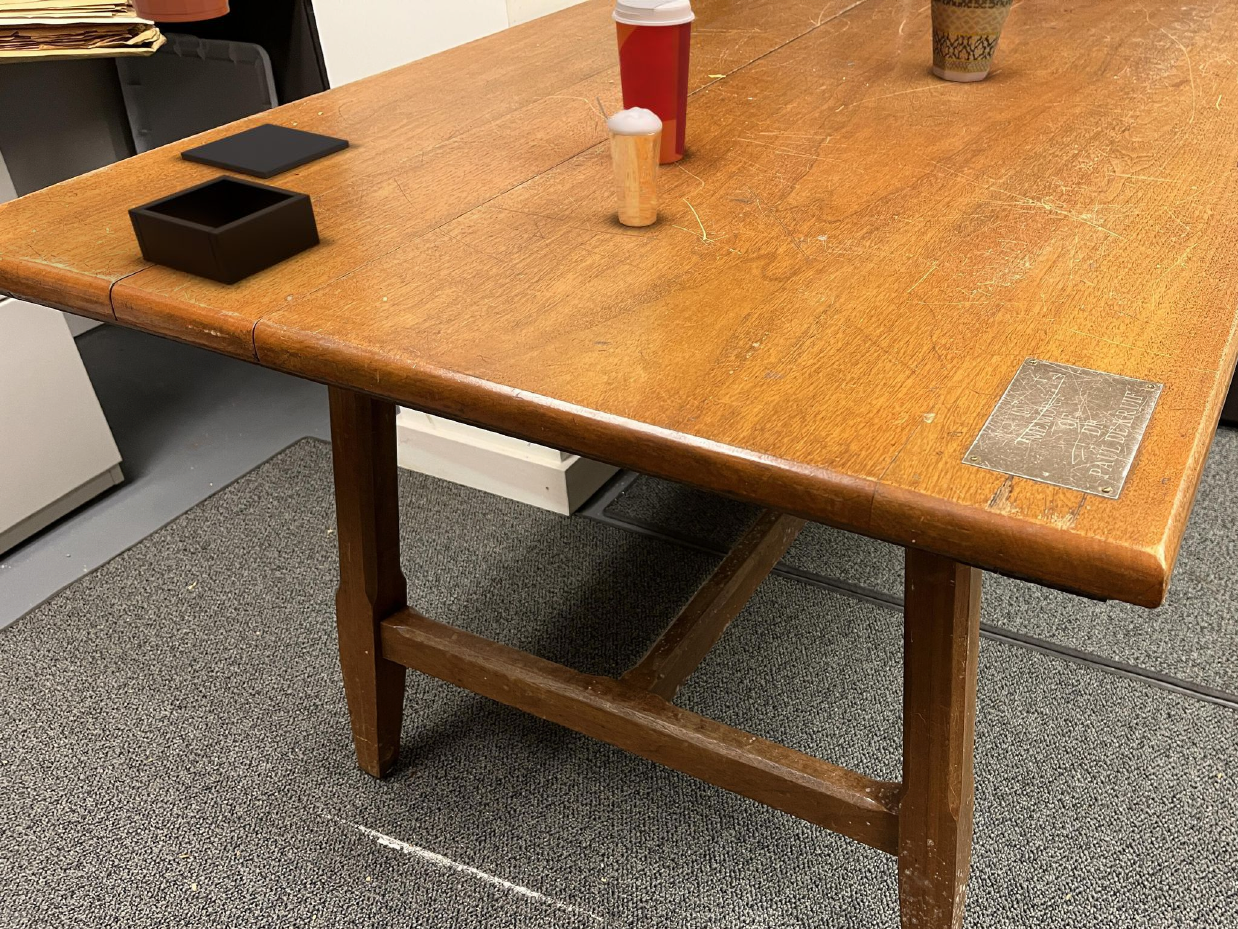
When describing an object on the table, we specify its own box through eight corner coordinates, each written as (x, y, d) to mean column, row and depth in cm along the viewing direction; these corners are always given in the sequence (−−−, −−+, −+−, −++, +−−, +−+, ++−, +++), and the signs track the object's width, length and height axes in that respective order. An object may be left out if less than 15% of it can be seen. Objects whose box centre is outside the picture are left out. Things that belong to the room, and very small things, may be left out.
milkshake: (608, 208, 94) (603, 89, 88) (667, 212, 93) (666, 93, 87) (596, 227, 90) (590, 105, 84) (658, 231, 90) (656, 109, 84)
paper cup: (659, 137, 110) (656, -12, 101) (710, 156, 106) (712, 1, 97) (600, 153, 106) (592, -1, 97) (651, 173, 101) (648, 13, 93)
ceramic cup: (992, 89, 128) (1007, -3, 121) (911, 79, 130) (922, -11, 124) (1010, 64, 137) (1026, -22, 131) (935, 56, 140) (946, -29, 134)
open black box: (143, 259, 83) (126, 209, 81) (236, 221, 90) (224, 174, 87) (230, 285, 80) (215, 233, 77) (320, 243, 86) (309, 194, 84)
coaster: (181, 158, 102) (179, 152, 101) (268, 128, 110) (267, 122, 109) (265, 178, 98) (264, 172, 98) (349, 146, 106) (348, 140, 105)
